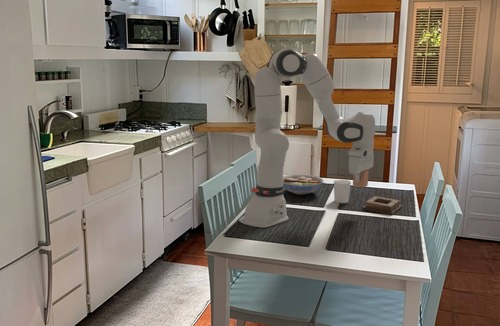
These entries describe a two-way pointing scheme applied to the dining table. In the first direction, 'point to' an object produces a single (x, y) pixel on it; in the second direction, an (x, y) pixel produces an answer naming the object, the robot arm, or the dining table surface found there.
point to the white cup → (341, 191)
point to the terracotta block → (362, 179)
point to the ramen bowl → (301, 183)
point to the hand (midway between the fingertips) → (360, 180)
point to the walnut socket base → (382, 205)
